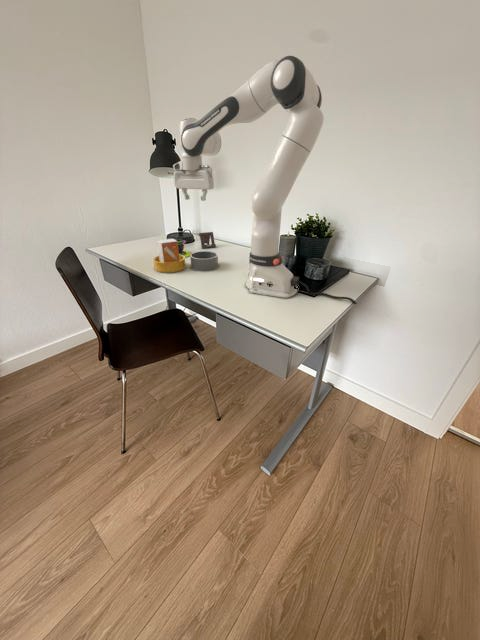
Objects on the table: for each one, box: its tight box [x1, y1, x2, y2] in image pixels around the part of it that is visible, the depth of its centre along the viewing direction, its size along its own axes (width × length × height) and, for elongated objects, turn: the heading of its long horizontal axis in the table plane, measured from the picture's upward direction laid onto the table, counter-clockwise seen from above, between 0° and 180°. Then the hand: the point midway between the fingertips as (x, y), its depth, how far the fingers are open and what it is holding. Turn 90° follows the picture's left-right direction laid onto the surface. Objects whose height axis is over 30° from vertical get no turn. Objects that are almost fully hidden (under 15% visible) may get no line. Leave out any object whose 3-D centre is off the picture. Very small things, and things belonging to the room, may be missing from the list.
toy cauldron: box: [167, 234, 191, 258], centre depth 150 cm, size 15×15×11 cm
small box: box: [156, 238, 180, 263], centre depth 129 cm, size 8×6×13 cm
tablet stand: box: [198, 231, 217, 249], centre depth 166 cm, size 9×8×8 cm
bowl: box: [152, 255, 187, 274], centre depth 131 cm, size 15×15×5 cm
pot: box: [189, 250, 219, 272], centre depth 133 cm, size 14×14×6 cm
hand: (195, 200), depth 123 cm, fingers open, 8 cm apart
